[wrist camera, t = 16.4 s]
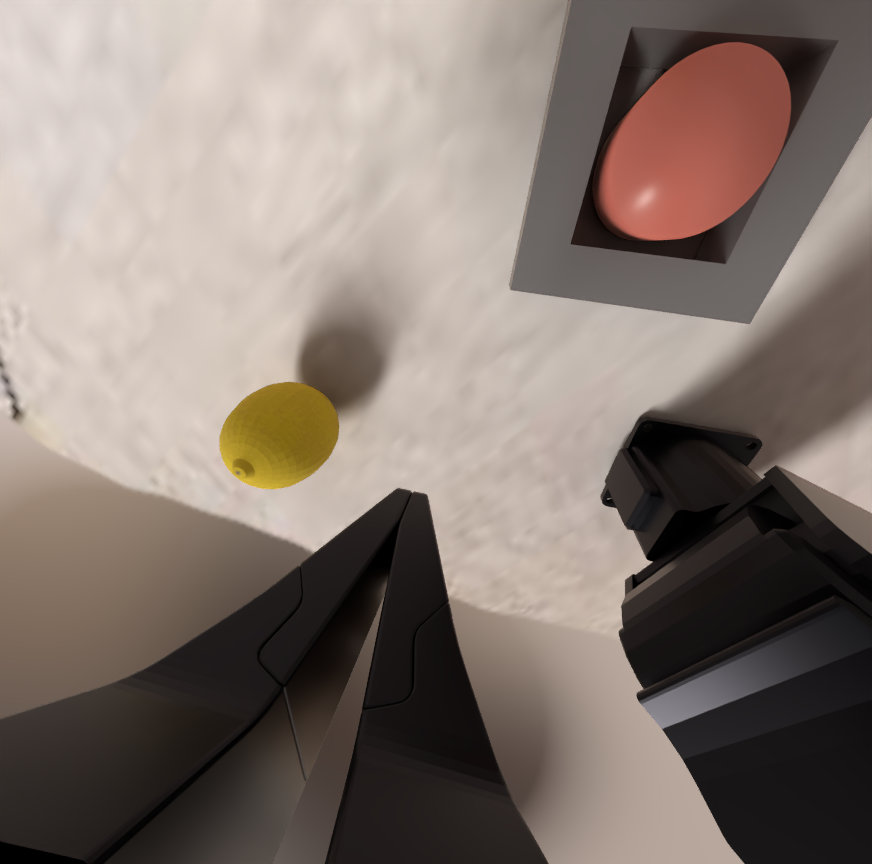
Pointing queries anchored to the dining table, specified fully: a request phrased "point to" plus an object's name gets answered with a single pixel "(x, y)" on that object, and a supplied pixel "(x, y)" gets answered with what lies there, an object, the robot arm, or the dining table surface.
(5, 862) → the robot arm
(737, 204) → the button
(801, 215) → the button frame
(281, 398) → the lemon
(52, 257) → the dining table surface
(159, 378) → the dining table surface
